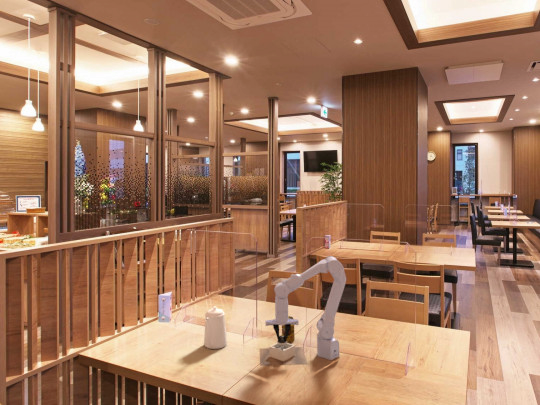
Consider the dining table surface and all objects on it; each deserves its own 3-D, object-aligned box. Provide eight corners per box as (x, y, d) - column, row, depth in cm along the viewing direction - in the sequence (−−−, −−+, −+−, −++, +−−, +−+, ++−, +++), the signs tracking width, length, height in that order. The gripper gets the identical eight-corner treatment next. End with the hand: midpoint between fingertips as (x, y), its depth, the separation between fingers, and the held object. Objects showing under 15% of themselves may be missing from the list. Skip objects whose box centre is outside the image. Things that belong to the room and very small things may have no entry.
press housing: (281, 350, 188) (281, 341, 188) (295, 355, 183) (295, 345, 183) (269, 356, 182) (269, 346, 182) (283, 361, 177) (283, 351, 177)
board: (302, 348, 192) (302, 347, 192) (307, 365, 174) (307, 364, 174) (259, 350, 191) (259, 348, 191) (260, 367, 173) (260, 365, 173)
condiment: (283, 345, 196) (283, 320, 196) (278, 339, 204) (277, 315, 204) (298, 343, 198) (297, 319, 198) (292, 337, 207) (291, 313, 206)
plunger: (281, 347, 187) (281, 333, 186) (291, 351, 183) (291, 336, 182) (273, 351, 182) (272, 336, 182) (283, 355, 178) (282, 339, 178)
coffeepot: (194, 355, 186) (193, 314, 185) (213, 335, 211) (212, 299, 210) (217, 357, 184) (216, 315, 183) (233, 336, 208) (232, 300, 208)
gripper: (265, 314, 177) (266, 345, 178) (299, 313, 178) (299, 344, 179) (265, 309, 184) (265, 338, 185) (297, 308, 185) (297, 338, 186)
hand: (282, 341), depth 182 cm, fingers closed on plunger, 2 cm apart
